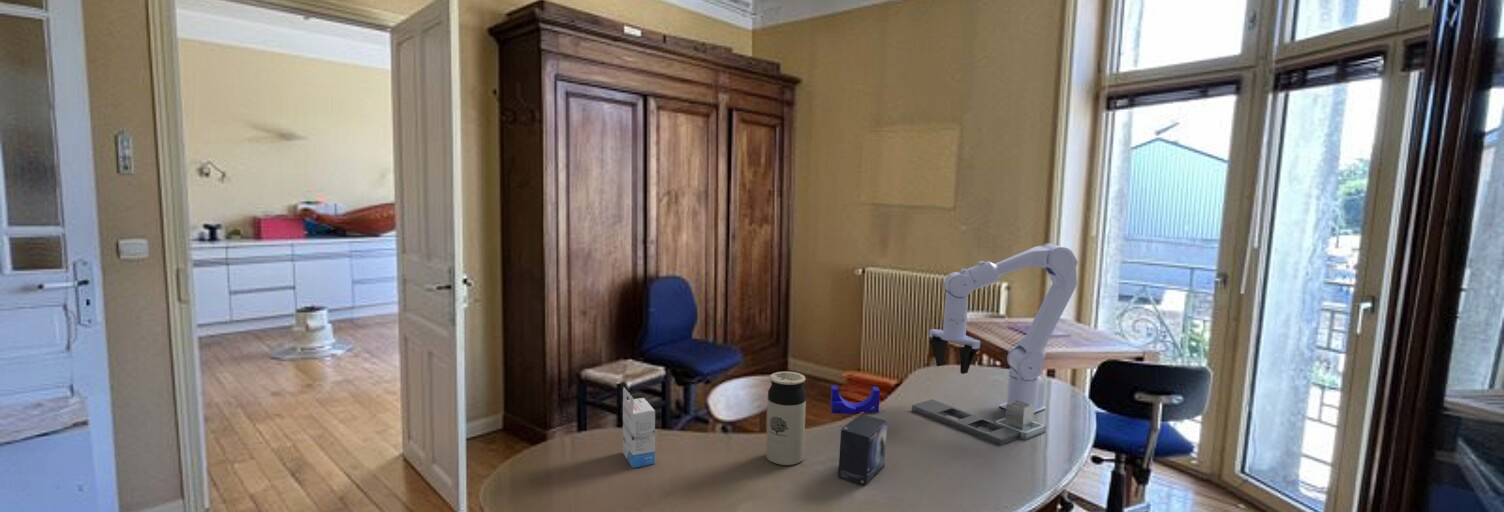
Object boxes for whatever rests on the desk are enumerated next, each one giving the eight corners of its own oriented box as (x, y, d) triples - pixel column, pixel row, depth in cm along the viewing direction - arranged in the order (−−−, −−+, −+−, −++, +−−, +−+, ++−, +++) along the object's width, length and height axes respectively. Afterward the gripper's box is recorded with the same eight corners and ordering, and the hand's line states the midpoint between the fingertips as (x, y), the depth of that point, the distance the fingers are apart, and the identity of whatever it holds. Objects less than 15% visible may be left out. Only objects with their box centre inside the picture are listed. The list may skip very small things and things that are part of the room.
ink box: (656, 464, 137) (656, 396, 135) (632, 468, 135) (632, 399, 133) (644, 448, 145) (644, 383, 143) (621, 452, 143) (621, 386, 141)
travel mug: (783, 447, 147) (786, 368, 145) (811, 458, 142) (814, 377, 139) (758, 457, 142) (760, 376, 139) (786, 470, 136) (788, 385, 134)
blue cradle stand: (832, 413, 168) (833, 391, 168) (830, 407, 173) (831, 385, 172) (879, 415, 168) (880, 392, 167) (876, 409, 173) (878, 386, 172)
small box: (867, 487, 130) (869, 436, 128) (836, 478, 133) (838, 428, 132) (886, 467, 139) (889, 419, 137) (857, 459, 142) (859, 412, 141)
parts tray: (1013, 420, 166) (1013, 414, 166) (1045, 431, 160) (1045, 425, 159) (993, 427, 161) (993, 421, 161) (1025, 439, 155) (1026, 433, 154)
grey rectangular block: (1015, 423, 163) (1017, 398, 162) (1032, 429, 160) (1034, 404, 159) (1004, 427, 161) (1006, 402, 160) (1022, 433, 157) (1024, 408, 156)
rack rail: (931, 404, 176) (932, 399, 176) (1021, 437, 156) (1021, 432, 155) (911, 410, 172) (912, 405, 172) (1001, 445, 151) (1001, 439, 151)
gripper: (923, 315, 176) (920, 364, 178) (969, 326, 165) (965, 379, 167) (940, 312, 181) (937, 360, 182) (986, 322, 169) (982, 374, 171)
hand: (951, 369), depth 175 cm, fingers open, 7 cm apart
